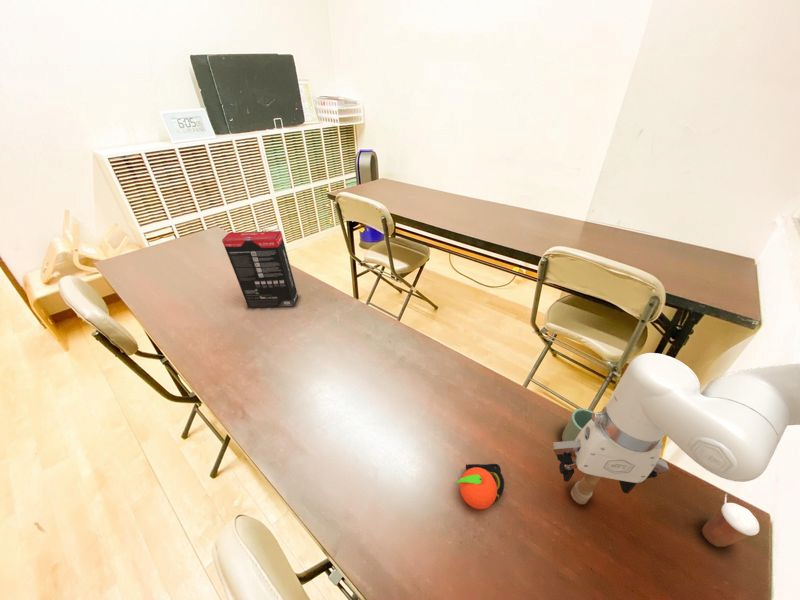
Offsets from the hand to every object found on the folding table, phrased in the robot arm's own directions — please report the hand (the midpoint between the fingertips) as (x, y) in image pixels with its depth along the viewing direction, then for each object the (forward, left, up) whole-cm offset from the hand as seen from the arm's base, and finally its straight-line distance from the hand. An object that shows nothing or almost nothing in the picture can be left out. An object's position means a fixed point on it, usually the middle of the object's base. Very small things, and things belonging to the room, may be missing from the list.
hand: (592, 478), depth 58 cm
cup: (+8, -9, -8) cm, 14 cm away
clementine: (+10, +18, -8) cm, 22 cm away
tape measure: (+11, +15, -8) cm, 20 cm away
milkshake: (-15, -15, -8) cm, 23 cm away
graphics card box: (+96, +41, -8) cm, 105 cm away
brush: (0, 0, -8) cm, 8 cm away
